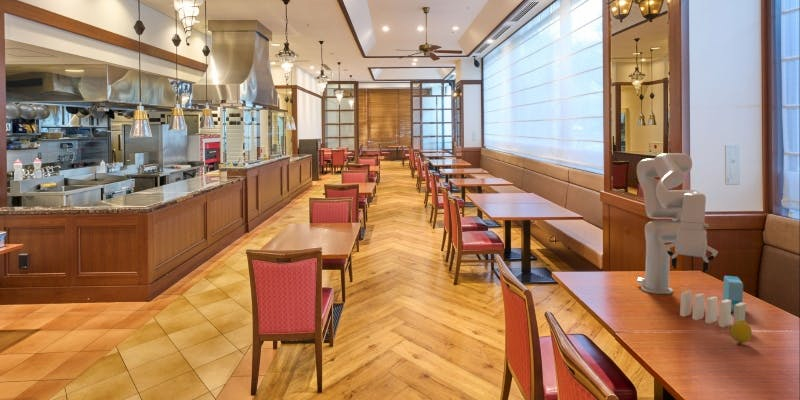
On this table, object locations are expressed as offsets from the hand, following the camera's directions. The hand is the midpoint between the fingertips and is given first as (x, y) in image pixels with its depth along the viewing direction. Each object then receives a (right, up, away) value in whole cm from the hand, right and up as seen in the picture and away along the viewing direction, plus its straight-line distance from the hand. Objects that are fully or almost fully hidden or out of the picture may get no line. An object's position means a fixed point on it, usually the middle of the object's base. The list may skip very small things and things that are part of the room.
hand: (689, 270), depth 184 cm
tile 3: (+5, -18, -5) cm, 20 cm away
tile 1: (0, -18, +2) cm, 18 cm away
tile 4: (+7, -19, -9) cm, 22 cm away
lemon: (+1, -21, -25) cm, 33 cm away
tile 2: (+2, -18, -2) cm, 18 cm away
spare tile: (+10, -19, -13) cm, 25 cm away
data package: (+22, -17, +9) cm, 29 cm away
